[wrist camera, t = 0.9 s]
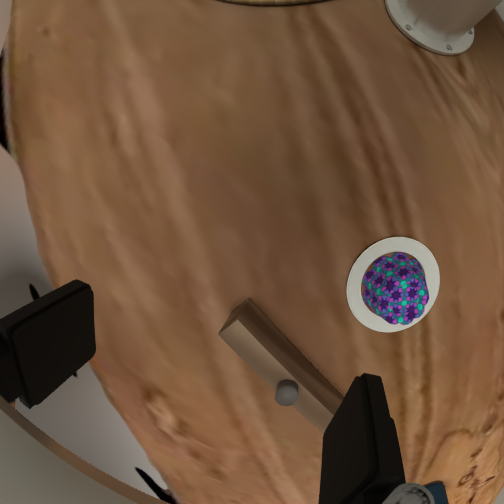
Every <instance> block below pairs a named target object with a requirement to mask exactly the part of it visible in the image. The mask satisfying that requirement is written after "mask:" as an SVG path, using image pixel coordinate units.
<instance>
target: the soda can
mask: <svg viewBox="0 0 504 504" xmlns="http://www.w3.org/2000/svg"><path fill="white" fill-rule="evenodd" d="M424 487H425V488H426V489H428V490H429V491H430V493H431V494H432V496H433V498H434V501H435V504H449V503H448V499H447V494H446V490H445V486H444V485H443V484H442V483H440V482H432V483H429V484H427V485H425V486H424Z"/></svg>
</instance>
